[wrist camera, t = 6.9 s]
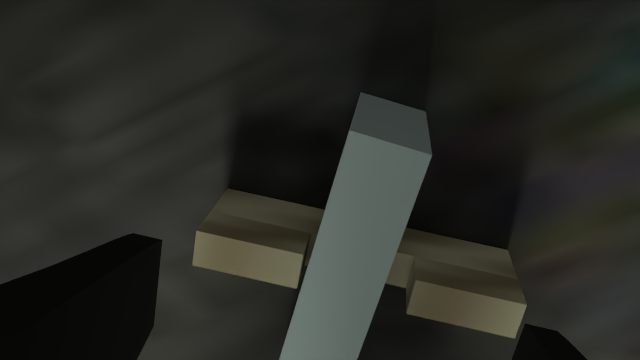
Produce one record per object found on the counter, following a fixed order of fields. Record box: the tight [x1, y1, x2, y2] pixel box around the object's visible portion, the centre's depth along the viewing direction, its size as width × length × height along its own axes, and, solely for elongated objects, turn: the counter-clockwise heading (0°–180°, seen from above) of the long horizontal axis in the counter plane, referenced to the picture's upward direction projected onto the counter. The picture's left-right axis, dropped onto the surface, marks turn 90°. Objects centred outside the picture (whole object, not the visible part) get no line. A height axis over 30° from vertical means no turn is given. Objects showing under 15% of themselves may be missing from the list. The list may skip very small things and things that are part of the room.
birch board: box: [193, 189, 527, 338], centre depth 20 cm, size 10×1×4 cm, turn 80°
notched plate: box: [279, 92, 432, 360], centre depth 19 cm, size 10×2×4 cm, turn 165°
